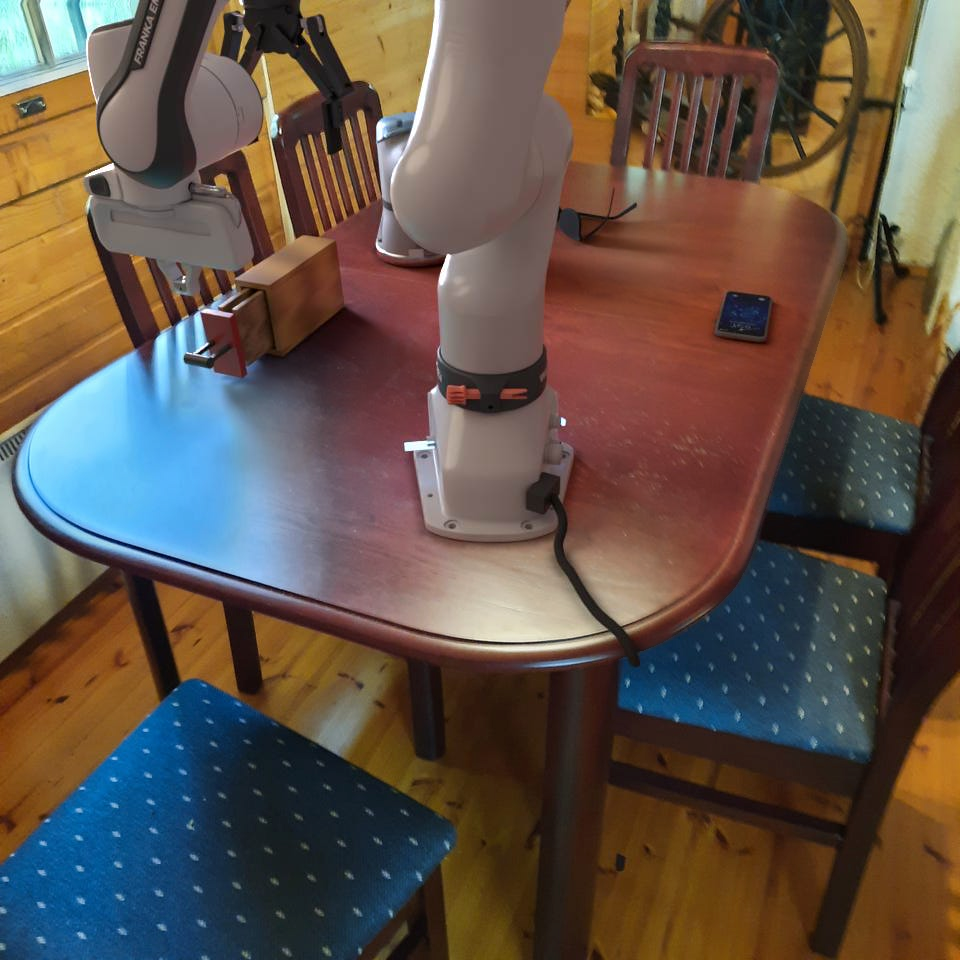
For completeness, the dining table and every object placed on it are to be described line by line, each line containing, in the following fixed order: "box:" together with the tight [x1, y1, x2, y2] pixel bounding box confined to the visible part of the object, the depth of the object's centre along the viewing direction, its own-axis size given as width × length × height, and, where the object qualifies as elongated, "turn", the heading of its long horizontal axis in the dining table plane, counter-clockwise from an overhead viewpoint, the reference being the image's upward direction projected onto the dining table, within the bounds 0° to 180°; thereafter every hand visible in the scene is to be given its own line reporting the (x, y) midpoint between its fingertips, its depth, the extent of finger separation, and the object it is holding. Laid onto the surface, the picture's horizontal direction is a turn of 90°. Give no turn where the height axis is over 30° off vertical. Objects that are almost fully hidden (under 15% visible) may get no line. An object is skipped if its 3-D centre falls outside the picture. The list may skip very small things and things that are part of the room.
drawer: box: [182, 287, 276, 379], centre depth 117 cm, size 22×5×9 cm, turn 157°
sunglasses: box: [556, 187, 638, 242], centre depth 159 cm, size 17×14×5 cm
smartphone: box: [714, 290, 774, 343], centre depth 128 cm, size 7×1×15 cm
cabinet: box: [233, 234, 345, 357], centre depth 126 cm, size 18×6×11 cm, turn 157°
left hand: (292, 147), depth 118 cm, fingers open, 13 cm apart
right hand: (187, 293), depth 105 cm, fingers closed
